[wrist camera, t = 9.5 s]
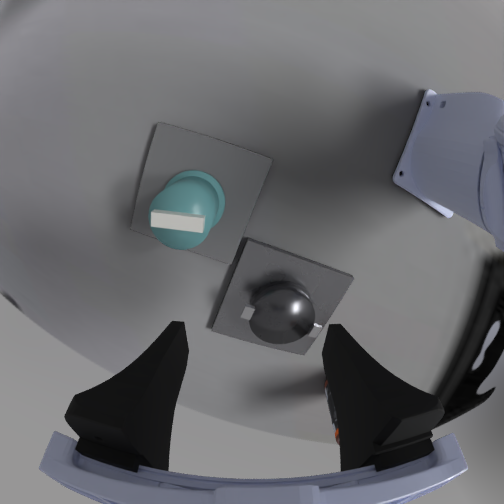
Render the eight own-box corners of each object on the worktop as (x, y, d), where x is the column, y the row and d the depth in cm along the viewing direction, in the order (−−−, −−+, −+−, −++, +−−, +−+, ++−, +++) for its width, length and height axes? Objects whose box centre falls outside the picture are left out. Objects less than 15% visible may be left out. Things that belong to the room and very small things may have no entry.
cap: (229, 173, 19) (221, 186, 14) (221, 234, 21) (213, 264, 16) (165, 167, 19) (139, 178, 14) (162, 227, 21) (139, 254, 16)
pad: (160, 122, 18) (158, 122, 17) (272, 159, 19) (273, 159, 19) (133, 226, 21) (130, 229, 21) (231, 261, 23) (231, 264, 22)
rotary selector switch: (247, 237, 22) (247, 252, 19) (352, 275, 23) (362, 292, 21) (212, 327, 26) (208, 347, 23) (303, 351, 27) (307, 371, 25)
